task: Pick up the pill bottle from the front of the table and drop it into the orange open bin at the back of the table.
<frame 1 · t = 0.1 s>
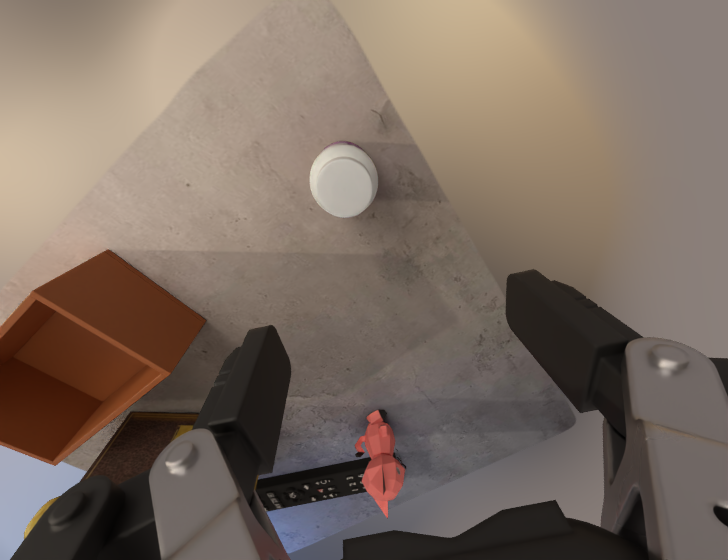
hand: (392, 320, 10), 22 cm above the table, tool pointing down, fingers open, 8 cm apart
book: (193, 426, 45), on the table
remote control: (312, 480, 54), on the table
orange open bin: (108, 336, 36), on the table
pill bottle: (343, 170, 29), on the table
cat figurine: (375, 419, 47), on the table
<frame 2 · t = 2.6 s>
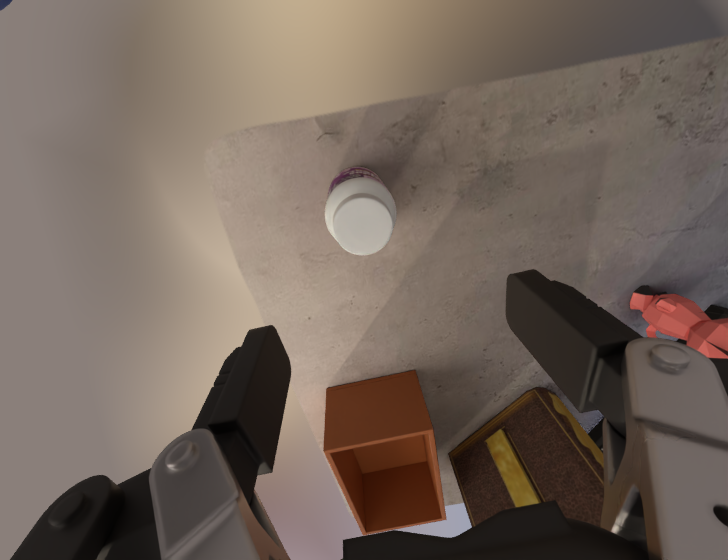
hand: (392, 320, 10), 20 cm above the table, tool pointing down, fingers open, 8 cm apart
book: (495, 431, 47), on the table
remote control: (647, 392, 45), on the table
orange open bin: (383, 427, 44), on the table
pill bottle: (356, 194, 28), on the table
cat figurine: (643, 301, 36), on the table
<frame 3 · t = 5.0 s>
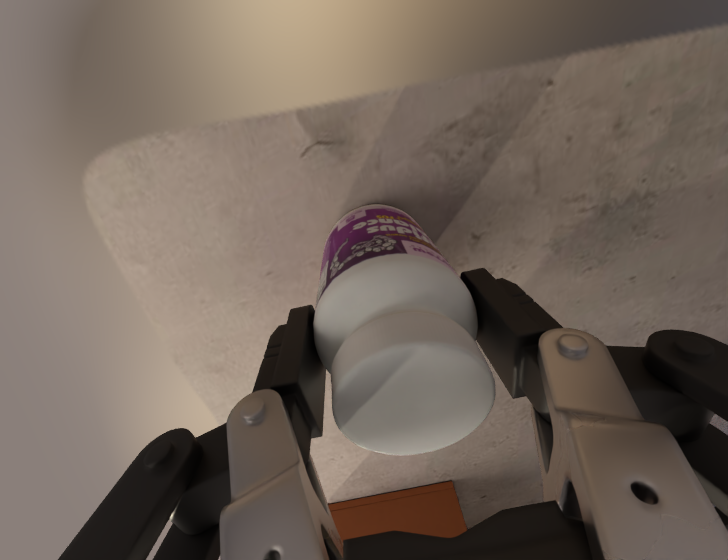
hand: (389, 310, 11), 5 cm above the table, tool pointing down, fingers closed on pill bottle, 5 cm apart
orange open bin: (402, 541, 32), on the table
pill bottle: (373, 250, 16), on the table, touching gripper
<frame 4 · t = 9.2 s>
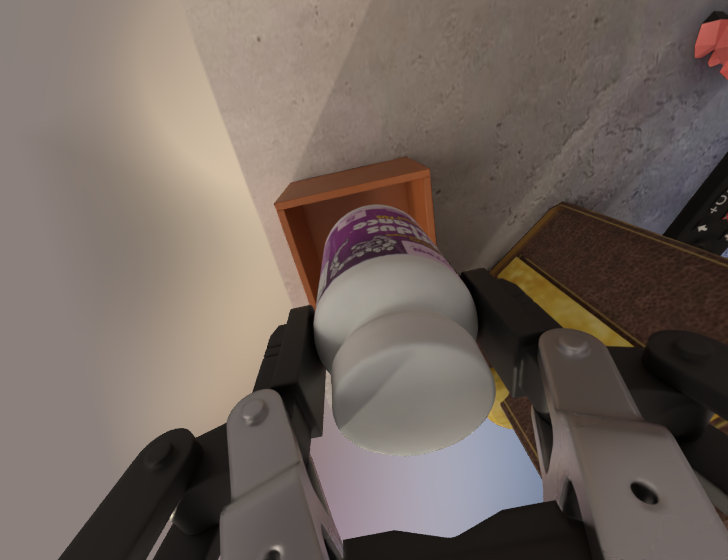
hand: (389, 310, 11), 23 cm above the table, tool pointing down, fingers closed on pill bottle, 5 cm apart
book: (507, 280, 38), on the table
remote control: (698, 224, 36), on the table
orange open bin: (368, 261, 35), on the table
pill bottle: (374, 250, 16), point 17 cm above the table, touching gripper
cat figurine: (712, 46, 27), on the table
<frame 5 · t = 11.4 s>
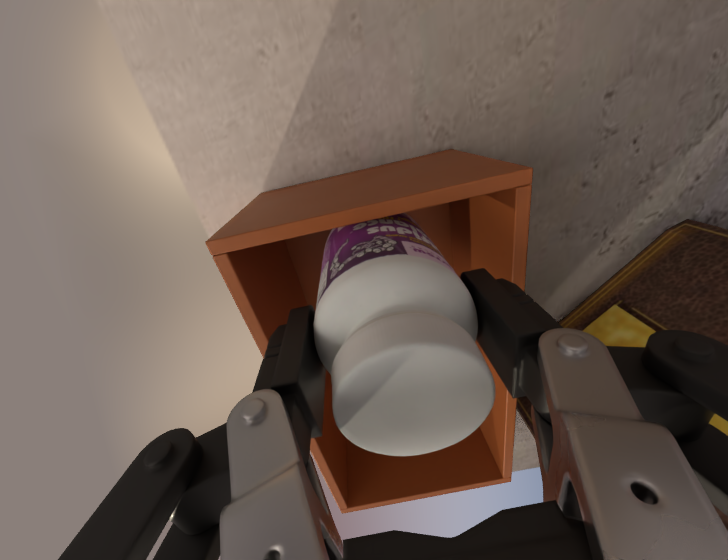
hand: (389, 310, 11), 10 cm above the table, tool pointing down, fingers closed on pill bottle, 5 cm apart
book: (586, 330, 26), on the table
orange open bin: (384, 309, 23), on the table
pill bottle: (374, 250, 16), point 5 cm above the table, touching gripper
when the fingers open (6 cm above the table, at t = 13.2 s): pill bottle stays where it is, resting on orange open bin.
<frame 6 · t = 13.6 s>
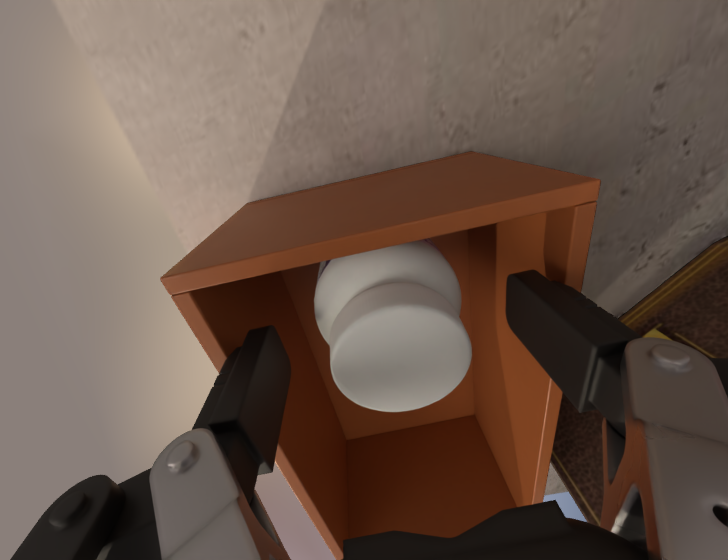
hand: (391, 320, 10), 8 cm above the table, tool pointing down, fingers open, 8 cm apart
book: (614, 352, 23), on the table
orange open bin: (390, 332, 20), on the table
pill bottle: (371, 240, 17), resting on orange open bin
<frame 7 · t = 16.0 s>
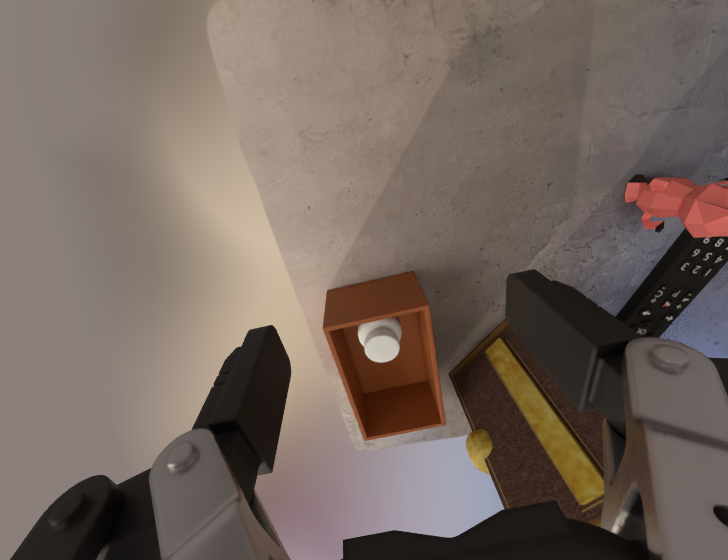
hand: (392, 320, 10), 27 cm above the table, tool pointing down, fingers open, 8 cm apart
book: (495, 349, 48), on the table
remote control: (646, 306, 45), on the table
orange open bin: (384, 339, 45), on the table
pill bottle: (375, 302, 41), resting on orange open bin
cat figurine: (638, 194, 37), on the table
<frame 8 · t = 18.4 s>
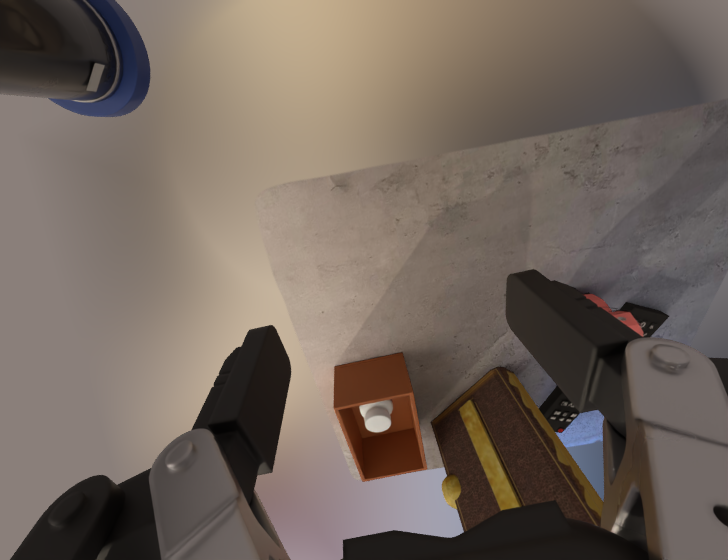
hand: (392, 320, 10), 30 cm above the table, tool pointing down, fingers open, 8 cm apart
book: (468, 403, 59), on the table
remote control: (585, 372, 57), on the table
orange open bin: (379, 399, 56), on the table
pill bottle: (372, 374, 52), resting on orange open bin
cat figurine: (573, 299, 48), on the table
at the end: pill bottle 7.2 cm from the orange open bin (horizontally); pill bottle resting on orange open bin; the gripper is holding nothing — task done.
